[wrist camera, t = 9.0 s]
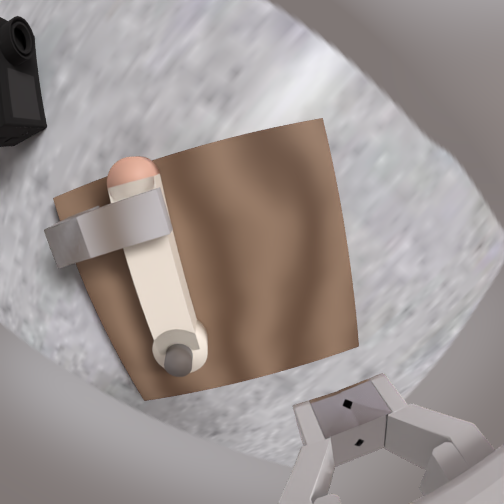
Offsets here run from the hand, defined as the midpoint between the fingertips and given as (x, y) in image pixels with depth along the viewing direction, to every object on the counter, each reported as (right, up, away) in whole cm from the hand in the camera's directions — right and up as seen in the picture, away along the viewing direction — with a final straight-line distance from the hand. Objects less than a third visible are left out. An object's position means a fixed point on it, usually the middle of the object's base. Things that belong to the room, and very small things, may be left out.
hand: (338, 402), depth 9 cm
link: (-10, +3, +16) cm, 20 cm away
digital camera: (-23, +20, +12) cm, 33 cm away
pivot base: (-6, +3, +19) cm, 20 cm away
